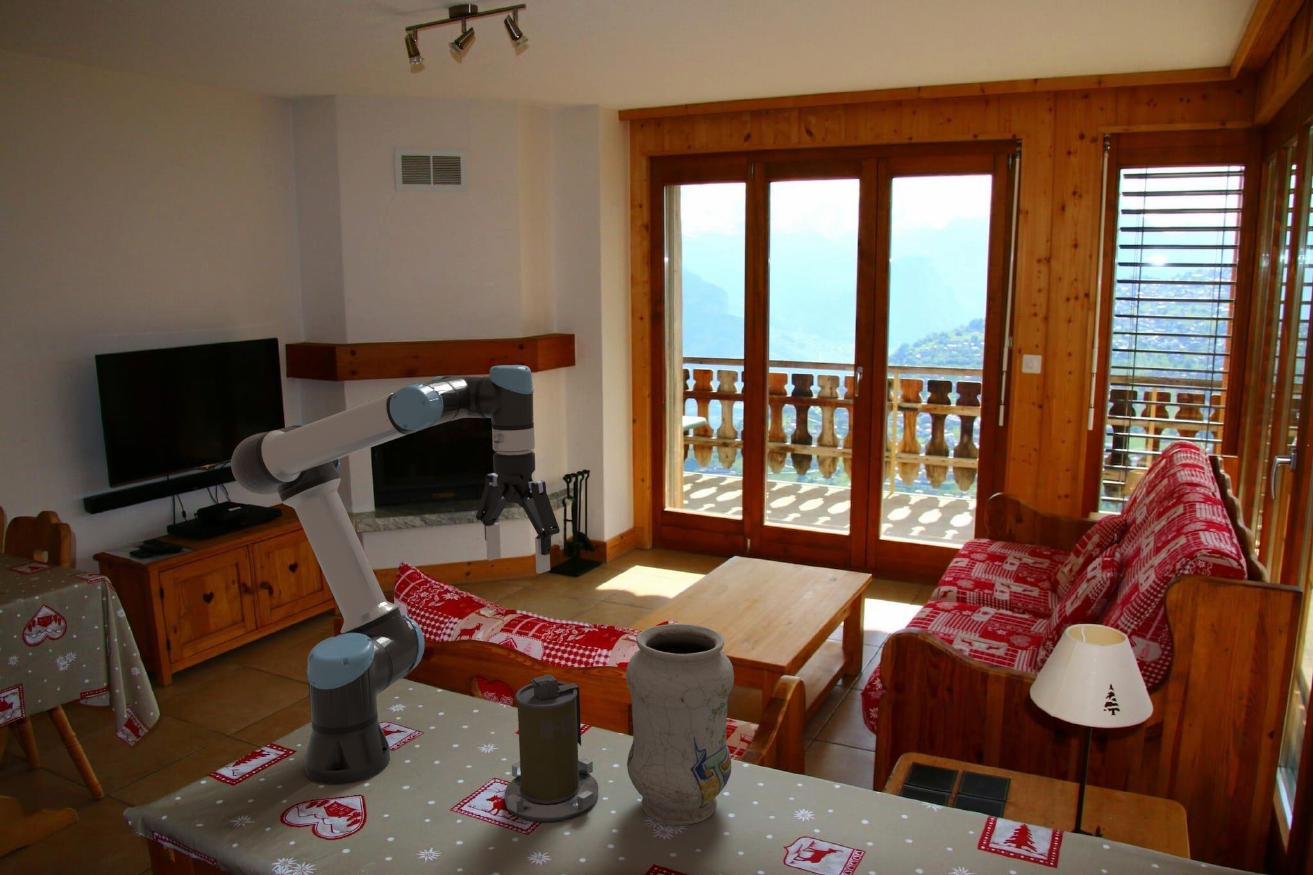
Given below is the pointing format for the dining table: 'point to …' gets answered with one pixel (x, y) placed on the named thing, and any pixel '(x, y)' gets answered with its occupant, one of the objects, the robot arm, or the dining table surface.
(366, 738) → the robot arm
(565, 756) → the canister
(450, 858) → the dining table surface
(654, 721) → the vase
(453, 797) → the dining table surface
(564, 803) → the flange
